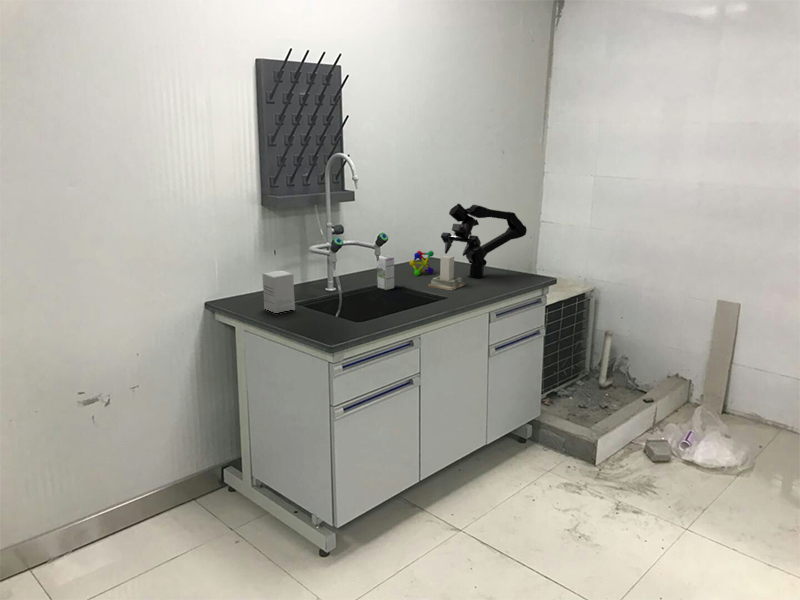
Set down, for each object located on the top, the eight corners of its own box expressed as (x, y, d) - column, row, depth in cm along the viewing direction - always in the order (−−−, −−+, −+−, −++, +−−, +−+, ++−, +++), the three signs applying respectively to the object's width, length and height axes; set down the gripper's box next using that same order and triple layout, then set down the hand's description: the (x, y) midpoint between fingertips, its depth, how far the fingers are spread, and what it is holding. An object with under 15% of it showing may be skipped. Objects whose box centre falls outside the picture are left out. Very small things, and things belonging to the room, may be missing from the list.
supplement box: (283, 305, 255) (281, 269, 251) (295, 310, 248) (294, 273, 244) (263, 309, 249) (261, 272, 245) (275, 314, 242) (273, 276, 239)
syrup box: (394, 288, 284) (394, 256, 280) (385, 290, 280) (385, 258, 276) (385, 285, 288) (385, 254, 284) (376, 287, 284) (376, 256, 280)
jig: (441, 281, 297) (441, 274, 296) (465, 284, 290) (465, 277, 289) (428, 286, 287) (428, 279, 286) (452, 290, 280) (452, 282, 279)
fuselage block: (444, 282, 291) (445, 255, 288) (453, 283, 289) (454, 256, 285) (440, 283, 288) (440, 257, 284) (448, 285, 285) (449, 258, 282)
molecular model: (416, 276, 306) (417, 253, 303) (408, 273, 311) (408, 250, 308) (435, 274, 312) (436, 251, 309) (426, 271, 318) (427, 249, 315)
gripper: (443, 215, 295) (430, 241, 289) (479, 218, 285) (466, 246, 279) (450, 229, 303) (438, 256, 297) (485, 233, 293) (474, 260, 287)
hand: (454, 254), depth 290 cm, fingers open, 9 cm apart
